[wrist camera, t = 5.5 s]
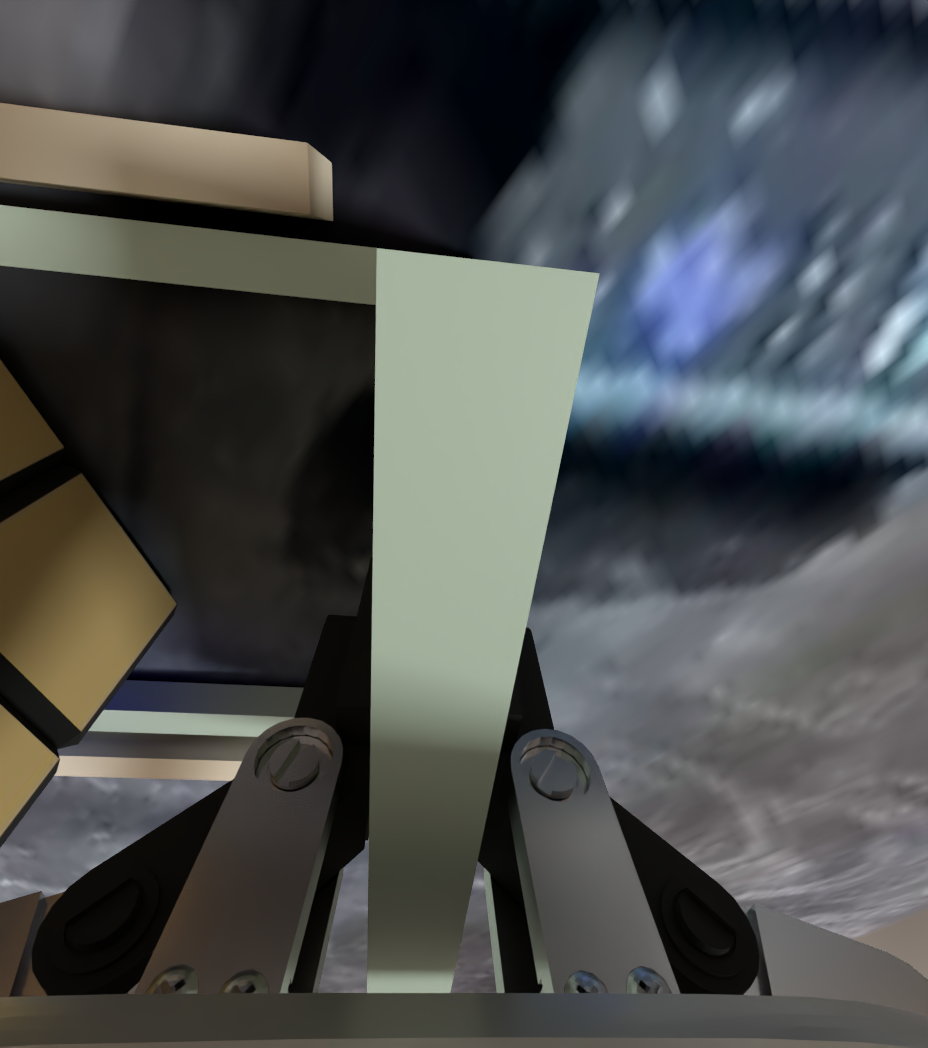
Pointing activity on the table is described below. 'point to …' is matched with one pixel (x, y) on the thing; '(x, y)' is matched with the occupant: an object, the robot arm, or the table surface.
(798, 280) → the table surface
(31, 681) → the puzzle cube
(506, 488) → the green frame
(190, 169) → the frame
